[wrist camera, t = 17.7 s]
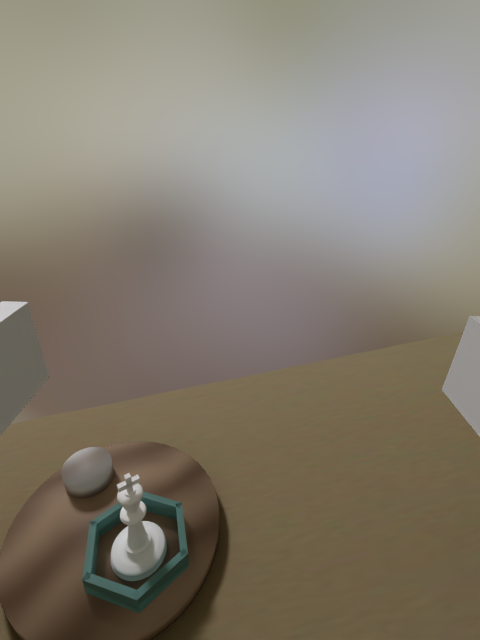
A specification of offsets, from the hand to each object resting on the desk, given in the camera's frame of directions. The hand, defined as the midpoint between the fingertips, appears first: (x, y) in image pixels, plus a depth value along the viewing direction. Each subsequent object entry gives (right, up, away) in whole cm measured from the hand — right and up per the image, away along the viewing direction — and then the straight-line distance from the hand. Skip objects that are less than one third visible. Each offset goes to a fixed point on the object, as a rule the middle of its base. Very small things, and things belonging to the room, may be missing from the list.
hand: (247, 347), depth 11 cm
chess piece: (-9, -20, +21) cm, 30 cm away
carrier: (-12, -20, +24) cm, 33 cm away
